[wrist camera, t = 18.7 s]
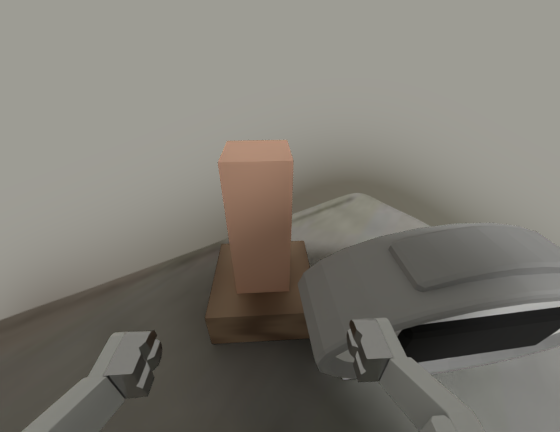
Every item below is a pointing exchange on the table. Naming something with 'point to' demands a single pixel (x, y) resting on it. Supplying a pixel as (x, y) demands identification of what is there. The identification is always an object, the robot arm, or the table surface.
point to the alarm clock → (439, 296)
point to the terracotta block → (258, 212)
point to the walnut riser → (256, 305)
